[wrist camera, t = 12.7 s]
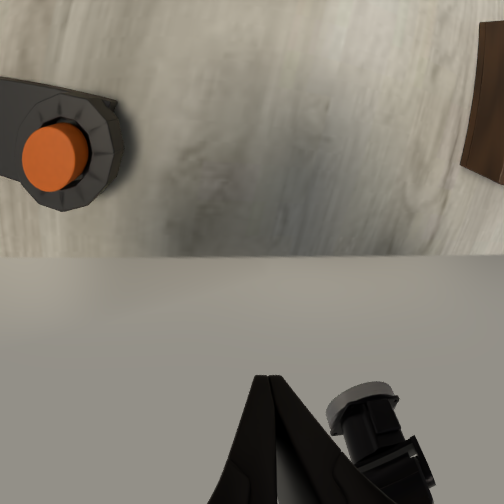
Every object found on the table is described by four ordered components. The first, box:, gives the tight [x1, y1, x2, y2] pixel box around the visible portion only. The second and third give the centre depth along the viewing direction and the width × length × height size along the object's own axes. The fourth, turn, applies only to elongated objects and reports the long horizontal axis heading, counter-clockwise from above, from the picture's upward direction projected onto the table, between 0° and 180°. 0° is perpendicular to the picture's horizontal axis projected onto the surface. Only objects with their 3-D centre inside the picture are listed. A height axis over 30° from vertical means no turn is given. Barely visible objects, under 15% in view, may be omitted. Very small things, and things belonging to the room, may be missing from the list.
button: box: [22, 123, 89, 192], centre depth 13 cm, size 3×3×2 cm
